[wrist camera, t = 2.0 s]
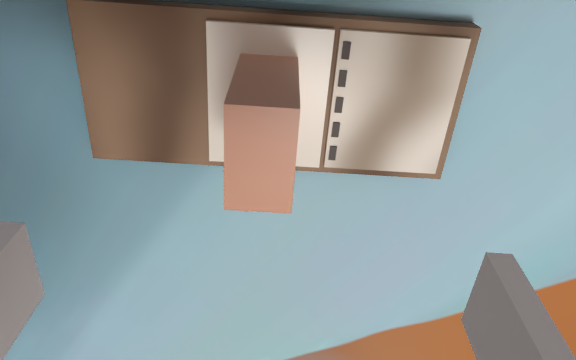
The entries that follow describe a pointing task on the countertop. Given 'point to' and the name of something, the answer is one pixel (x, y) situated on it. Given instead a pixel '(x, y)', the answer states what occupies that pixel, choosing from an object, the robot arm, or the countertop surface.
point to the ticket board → (341, 92)
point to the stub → (265, 108)
